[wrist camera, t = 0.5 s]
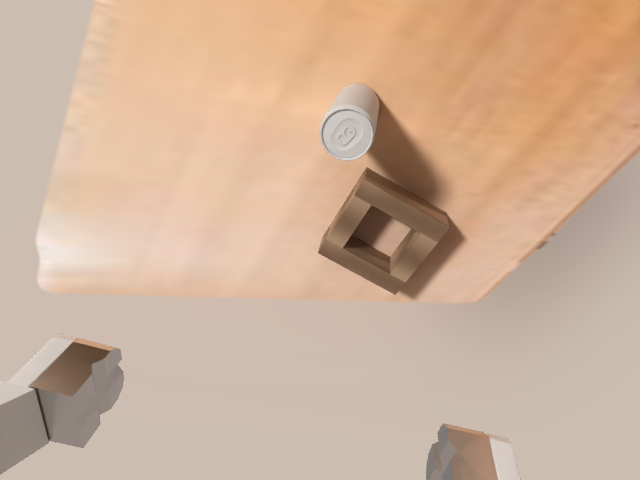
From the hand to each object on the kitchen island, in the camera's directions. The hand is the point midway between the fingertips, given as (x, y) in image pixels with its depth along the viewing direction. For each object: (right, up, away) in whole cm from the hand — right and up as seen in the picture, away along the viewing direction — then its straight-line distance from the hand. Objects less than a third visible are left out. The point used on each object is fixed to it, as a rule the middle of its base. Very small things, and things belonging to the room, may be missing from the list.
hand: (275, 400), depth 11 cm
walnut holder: (+9, +6, +43) cm, 44 cm away
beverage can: (+5, +19, +37) cm, 41 cm away
